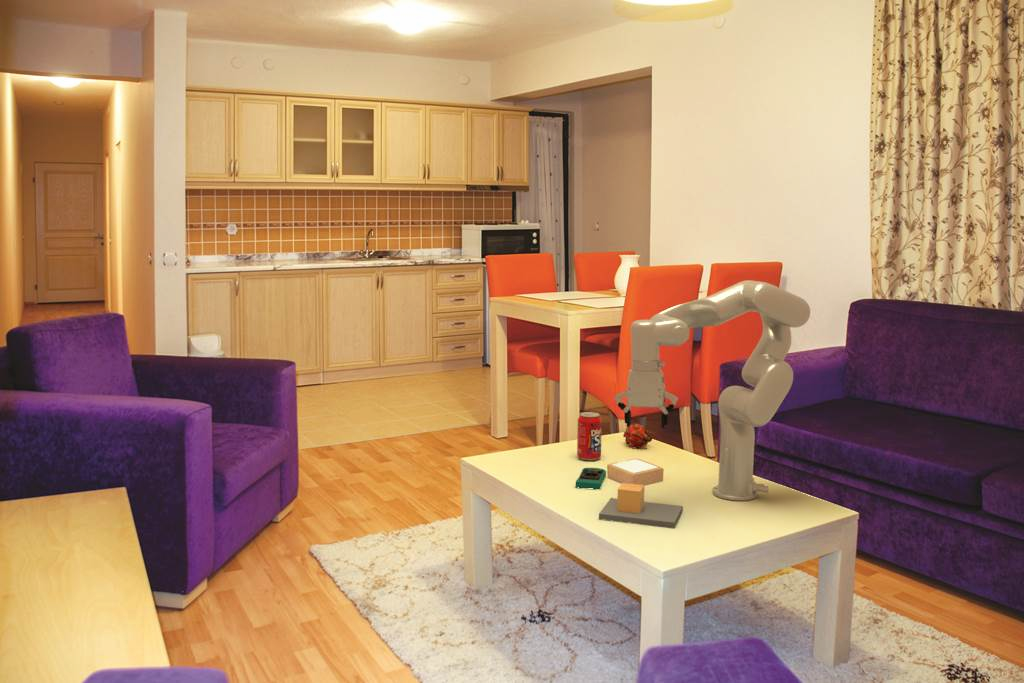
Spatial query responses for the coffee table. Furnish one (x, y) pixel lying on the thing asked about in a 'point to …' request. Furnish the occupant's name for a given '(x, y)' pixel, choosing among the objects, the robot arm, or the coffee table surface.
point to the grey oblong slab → (644, 514)
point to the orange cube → (630, 498)
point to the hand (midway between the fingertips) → (646, 426)
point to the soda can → (589, 436)
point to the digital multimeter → (591, 478)
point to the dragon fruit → (636, 436)
